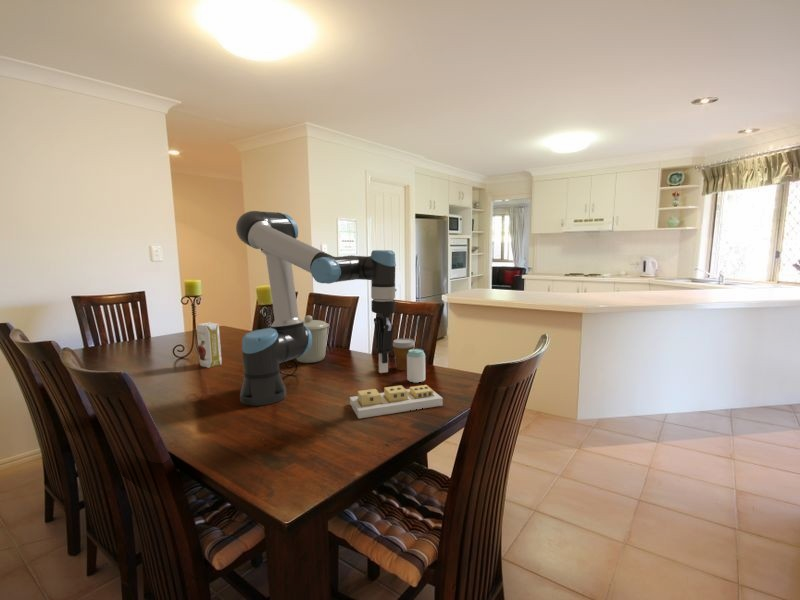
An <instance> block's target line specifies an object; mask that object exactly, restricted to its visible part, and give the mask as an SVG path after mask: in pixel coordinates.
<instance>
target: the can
mask: <svg viewBox="0 0 800 600" xmlns="http://www.w3.org/2000/svg"><path fill="white" fill-rule="evenodd" d="M406 375H407V376H406V379H407V381H409V382H410V383H411V382H413V384H420V383H419V382H421V383H423V382H425V381H426V354H425V352H424V349H421V348H413V349H410V350H409V352H408V354H407V370H406Z"/></svg>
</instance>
